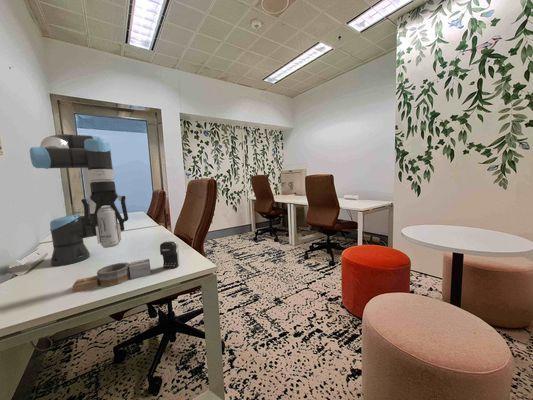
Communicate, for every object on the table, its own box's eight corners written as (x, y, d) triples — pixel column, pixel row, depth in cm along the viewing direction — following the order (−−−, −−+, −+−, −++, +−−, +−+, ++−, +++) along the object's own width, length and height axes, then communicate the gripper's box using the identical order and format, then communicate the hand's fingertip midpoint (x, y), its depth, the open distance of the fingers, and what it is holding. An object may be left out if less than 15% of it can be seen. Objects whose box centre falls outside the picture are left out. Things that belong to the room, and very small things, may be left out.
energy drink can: (97, 248, 82) (91, 209, 80) (111, 243, 88) (106, 206, 86) (110, 248, 81) (105, 208, 79) (124, 243, 86) (119, 206, 85)
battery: (160, 269, 94) (157, 243, 93) (166, 265, 97) (163, 240, 96) (175, 269, 93) (172, 243, 91) (180, 265, 96) (177, 240, 95)
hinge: (79, 283, 84) (77, 270, 84) (150, 267, 96) (149, 256, 95) (71, 295, 75) (69, 281, 75) (150, 276, 87) (149, 263, 86)
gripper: (66, 182, 74) (76, 248, 76) (131, 179, 83) (138, 238, 85) (72, 183, 81) (81, 243, 83) (132, 180, 90) (139, 234, 92)
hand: (110, 241), depth 84 cm, fingers closed on energy drink can, 6 cm apart
